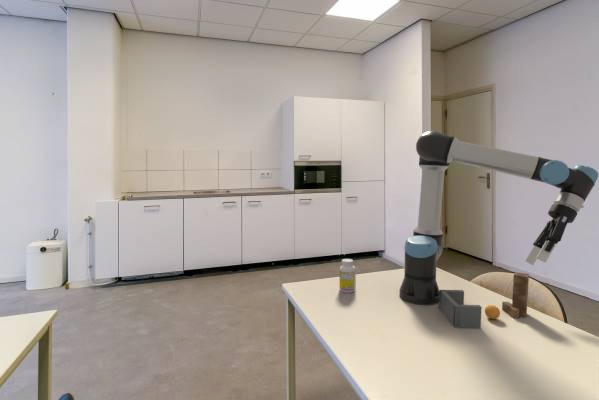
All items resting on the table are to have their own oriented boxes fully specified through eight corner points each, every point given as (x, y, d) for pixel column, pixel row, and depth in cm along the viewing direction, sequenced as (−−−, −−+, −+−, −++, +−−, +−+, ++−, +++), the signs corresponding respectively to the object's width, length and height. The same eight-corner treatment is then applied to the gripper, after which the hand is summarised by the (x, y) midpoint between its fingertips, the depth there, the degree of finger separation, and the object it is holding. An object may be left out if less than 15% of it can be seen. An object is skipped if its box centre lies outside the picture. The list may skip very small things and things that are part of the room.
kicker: (499, 315, 119) (501, 275, 118) (502, 308, 125) (504, 270, 123) (524, 320, 114) (526, 279, 113) (526, 313, 120) (528, 274, 119)
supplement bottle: (344, 286, 149) (344, 257, 148) (358, 289, 145) (358, 259, 144) (336, 291, 143) (336, 260, 142) (350, 294, 140) (351, 263, 138)
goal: (438, 308, 125) (439, 289, 124) (461, 308, 124) (462, 290, 124) (454, 327, 110) (455, 306, 109) (480, 328, 109) (481, 306, 109)
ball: (482, 315, 119) (482, 302, 118) (495, 315, 119) (496, 303, 118) (488, 321, 114) (488, 308, 114) (502, 321, 114) (503, 308, 114)
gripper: (594, 205, 106) (559, 265, 105) (563, 220, 128) (535, 269, 128) (567, 194, 109) (533, 252, 108) (542, 210, 131) (514, 258, 131)
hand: (534, 261), depth 118 cm, fingers open, 13 cm apart
